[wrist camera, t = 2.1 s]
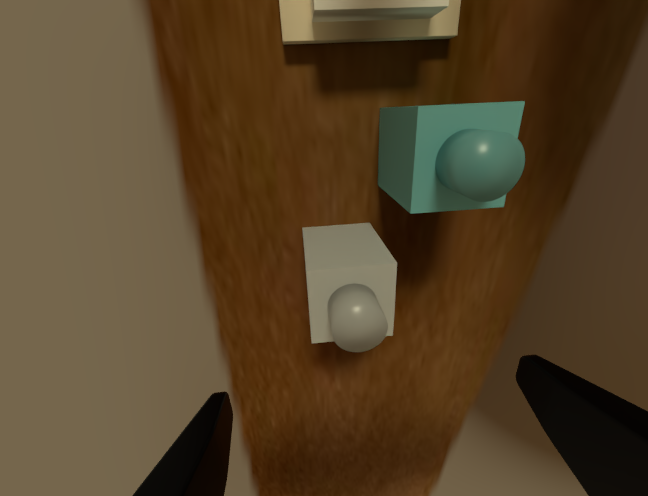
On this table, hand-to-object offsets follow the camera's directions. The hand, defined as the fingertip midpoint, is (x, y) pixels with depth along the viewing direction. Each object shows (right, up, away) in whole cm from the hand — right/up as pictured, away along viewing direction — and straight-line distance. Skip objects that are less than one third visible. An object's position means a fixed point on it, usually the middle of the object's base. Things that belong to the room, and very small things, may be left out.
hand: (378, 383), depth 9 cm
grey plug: (-1, +4, +12) cm, 13 cm away
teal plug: (+4, +10, +10) cm, 15 cm away
